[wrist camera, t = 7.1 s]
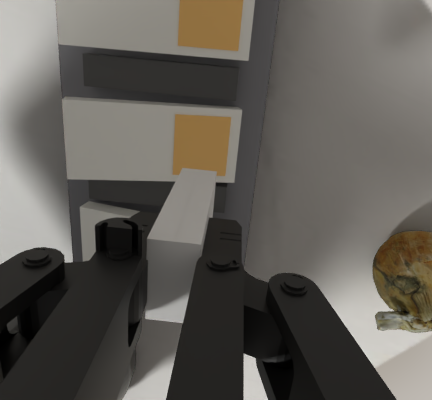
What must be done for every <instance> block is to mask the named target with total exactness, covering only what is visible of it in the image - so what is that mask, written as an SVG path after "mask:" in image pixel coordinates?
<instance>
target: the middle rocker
mask: <svg viewBox="0 0 432 400" xmlns="http://www.w3.org/2000/svg"><path fill="white" fill-rule="evenodd" d="M62 112H63V126H64V141H65V155H66V170H67V179H79V180H128V181H176V180H177V178H178V176H179V174H180V172H181V170H182V168H189V169H198V170H208V171H217V174H216V182H224V183H234V180H235V171H236V162H237V153H238V144H239V135H240V126H241V117H242V109H240V108H239V107H231V106H214V105H198V104H182V103H165V102H149V101H132V100H116V99H99V98H83V97H66V96H65V97H64V98H63V99H62Z"/></svg>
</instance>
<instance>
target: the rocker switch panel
mask: <svg viewBox="0 0 432 400" xmlns="http://www.w3.org/2000/svg"><path fill="white" fill-rule="evenodd" d="M55 1H56V0H55ZM278 8H279V0H255V6H254V15H253V24H252V33H251V42H250V51H249V60H248V61H243V60H232V59H220V58H209V57H197V56H186V55H175V54H163V53H152V52H140V51H129V50H118V49H106V48H95V47H83V46H72V45H60V44H58V45H59V60H60V74H61V89H62V99H63V98H64V97H65V96H66V97H83V98H99V99H116V100H132V101H149V102H165V103H182V104H198V105H214V106H231V107H239V108H240V109H242V117H241V126H240V135H239V144H238V153H237V162H236V171H235V180H234V183H224V182H216V185H215V196H214V207H213V218H219V219H229V220H236V221H237V222H238V223H239V224H240V226H241V227H242V264H243V267H244V263H245V255H246V248H247V240H248V233H249V225H250V218H251V210H252V203H253V195H254V188H255V180H256V173H257V165H258V158H259V150H260V143H261V135H262V128H263V120H264V113H265V105H266V98H267V90H268V83H269V75H270V68H271V60H272V53H273V45H274V38H275V30H276V23H277V15H278ZM56 16H57V14H56ZM57 30H58V29H57ZM175 182H176V181H128V180H79V179H68V192H69V207H70V222H71V236H72V251H73V262H82V261H83V256H82V239H81V221H80V206H82V205H84V204H85V203H87V202H88V201H91V202H96V203H101V204H106V205H111V206H116V207H121V208H126V209H131V210H136V211H144V212H153V213H160V211H161V209H162V207H163V205H164V203H165V201H166V200H167V198H168V196H169V194H170V192H171V190H172V188H173V186H174V184H175Z"/></svg>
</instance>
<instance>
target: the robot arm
mask: <svg viewBox="0 0 432 400" xmlns="http://www.w3.org/2000/svg"><path fill="white" fill-rule="evenodd" d="M216 174H217V171H208V170H198V169H189V168H182V170H181V172H180V174H179V176H178V178H177V180H176V182H175V184H174V186H173V188H172V190H171V192H170V194H169V196H168V198H167V200H166V201H165V203H164V205H163V207H162V209H161V211H160V213H153V212H144V211H140V212H138V213H136V214H135V215H133V216H131V217H130V218H119V217H116V218H109V219H105V220H102V221H100V222H98V223H97V224H96V225H95V244H96V252H95V253H94V255H93V256H92V257H91V259H90V260H89V261H82V262H71V263H65V262H64V255H63V254H62V253H61V251H58V250H56V249H52V248H46V247H41V248H34V249H30V250H26V251H24V252H21V253H19V254H17V255H15V256H14V257H12V258H10V259H9V260H7V261H6V262H4V263H2V264H1V265H0V400H122V399H123V397H124V396H125V394H126V392H127V390H128V387H129V384H130V382H131V379H132V376H133V373H134V370H135V365H136V353H135V347H136V344H137V341H138V338H139V336H140V333H141V326H142V314H143V311H144V309H145V319H150V320H159V321H168V322H177V323H183V325H182V330H181V334H180V339H179V343H178V348H177V352H176V357H175V361H174V366H173V370H172V375H171V380H170V384H169V389H168V393H167V398H166V400H243V353H244V354H247V355H249V356H252V357H255V358H256V364H257V368H258V371H259V374H260V377H261V380H262V383H263V386H264V389H265V392H266V395H267V398H268V400H396V398H395V397H394V395H393V394H392V393H391V391H390V390H389V388H388V387H387V385H386V384H385V383H384V381H383V380H382V378H381V377H380V375H379V374H378V372H377V371H376V369H375V368H374V367H373V365H372V364H371V362H370V361H369V359H368V358H367V357H366V355H365V354H364V352H363V351H362V349H361V348H360V347H359V345H358V344H357V342H356V341H355V339H354V338H353V336H352V335H351V334H350V332H349V331H348V329H347V328H346V326H345V325H344V324H343V322H342V321H341V319H340V318H339V316H338V315H337V313H336V312H335V311H334V309H333V308H332V306H331V305H330V303H329V302H328V301H327V299H326V298H325V296H324V295H323V293H322V292H321V290H320V289H319V288H318V286H317V285H316V284H315V283H314V282H313V281H311V280H310V279H308V278H306V277H304V276H302V275H298V274H294V273H281V274H277V275H275V276H273V277H271V279H270V281H269V283H268V282H264V281H261V280H259V279H256V278H254V277H252V276H251V275H249V274H248V273H247V272H246V271H245V270H244V267H243V264H242V227H241V226H240V224H239V223H238V222H237V221H236V220H229V219H219V218H213V207H214V196H215V185H216ZM145 306H146V308H145Z"/></svg>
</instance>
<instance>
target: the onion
mask: <svg viewBox="0 0 432 400" xmlns="http://www.w3.org/2000/svg"><path fill="white" fill-rule="evenodd" d="M373 279H374V282H375V285H376V288H377V291H378V293H379V295H380V297H381V298H382V299H383V300H384V302H385V303H386V304H387V305H388V307H389V308H391V309H393V310H394V311H392V312H390V311H388V312H378V313H377V314H376V315H375V318H376V323H377V329H378V330H381V331H384V330H397V329H402V330H407V331H409V332H414V333H419V332H428V331H432V232H426V231H406V232H400V233H397V234H395V235H393V236H391V237H390V238H389V239H388V240H387V241H386V242H385V243H384V244H383V245H382V246H381V247H380V248H379V249H378V251H377V253H376V255H375V258H374V261H373Z"/></svg>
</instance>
